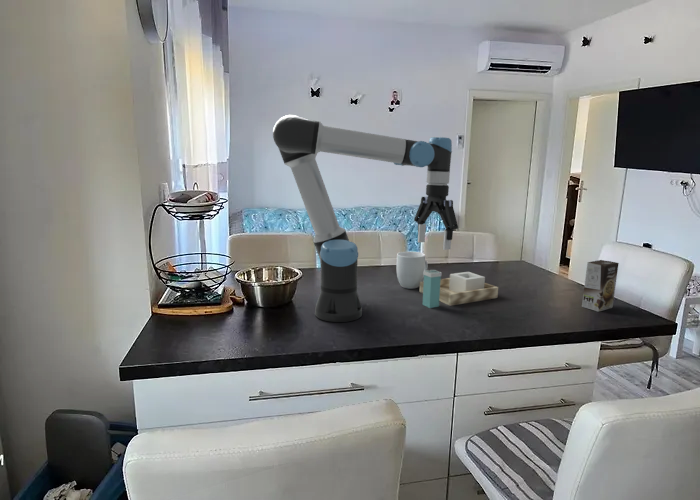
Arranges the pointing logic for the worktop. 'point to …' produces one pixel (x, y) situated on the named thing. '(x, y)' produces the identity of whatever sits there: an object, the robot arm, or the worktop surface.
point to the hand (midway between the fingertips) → (433, 245)
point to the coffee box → (600, 285)
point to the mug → (410, 269)
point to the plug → (431, 288)
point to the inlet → (466, 282)
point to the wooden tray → (463, 293)
